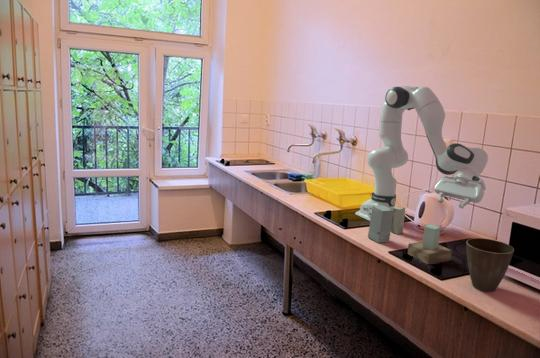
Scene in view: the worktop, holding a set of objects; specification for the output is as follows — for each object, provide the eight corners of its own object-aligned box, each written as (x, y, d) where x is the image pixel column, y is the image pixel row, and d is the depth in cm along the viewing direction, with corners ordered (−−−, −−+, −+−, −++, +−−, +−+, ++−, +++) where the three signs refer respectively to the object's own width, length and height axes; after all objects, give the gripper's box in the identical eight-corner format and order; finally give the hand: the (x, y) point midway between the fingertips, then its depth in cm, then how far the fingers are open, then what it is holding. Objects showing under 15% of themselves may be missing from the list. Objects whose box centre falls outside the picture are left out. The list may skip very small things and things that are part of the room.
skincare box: (367, 237, 195) (370, 205, 192) (379, 236, 198) (382, 204, 195) (378, 243, 188) (381, 210, 184) (391, 242, 190) (394, 209, 187)
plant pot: (451, 280, 152) (457, 240, 149) (481, 275, 158) (487, 236, 154) (485, 300, 139) (492, 255, 135) (517, 293, 144) (524, 250, 141)
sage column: (422, 246, 173) (424, 226, 171) (427, 244, 176) (430, 224, 174) (432, 250, 170) (435, 229, 168) (437, 247, 173) (440, 227, 171)
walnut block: (407, 254, 177) (408, 243, 176) (428, 251, 182) (430, 240, 181) (427, 265, 166) (429, 254, 165) (450, 261, 171) (451, 250, 170)
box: (395, 230, 207) (397, 205, 204) (403, 232, 204) (405, 207, 201) (389, 232, 204) (392, 207, 201) (398, 234, 200) (400, 209, 198)
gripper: (440, 171, 187) (426, 195, 183) (486, 180, 171) (471, 206, 167) (444, 180, 190) (430, 203, 187) (489, 189, 174) (475, 214, 171)
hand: (450, 204), depth 177 cm, fingers open, 8 cm apart
